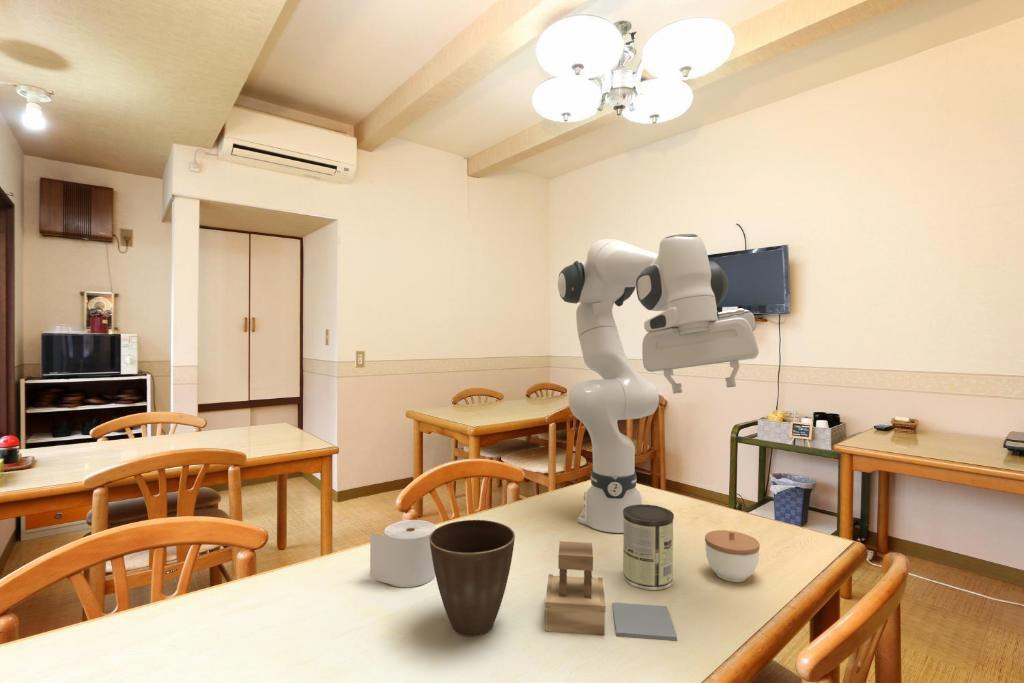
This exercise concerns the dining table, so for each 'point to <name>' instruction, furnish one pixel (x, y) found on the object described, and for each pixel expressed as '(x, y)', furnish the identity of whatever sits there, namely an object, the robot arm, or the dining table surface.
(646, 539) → the coffee can
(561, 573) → the tan pegged block
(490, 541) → the plant pot
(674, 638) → the mat
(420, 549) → the toilet tissue
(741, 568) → the lidded jar
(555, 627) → the tan wooden pedestal
